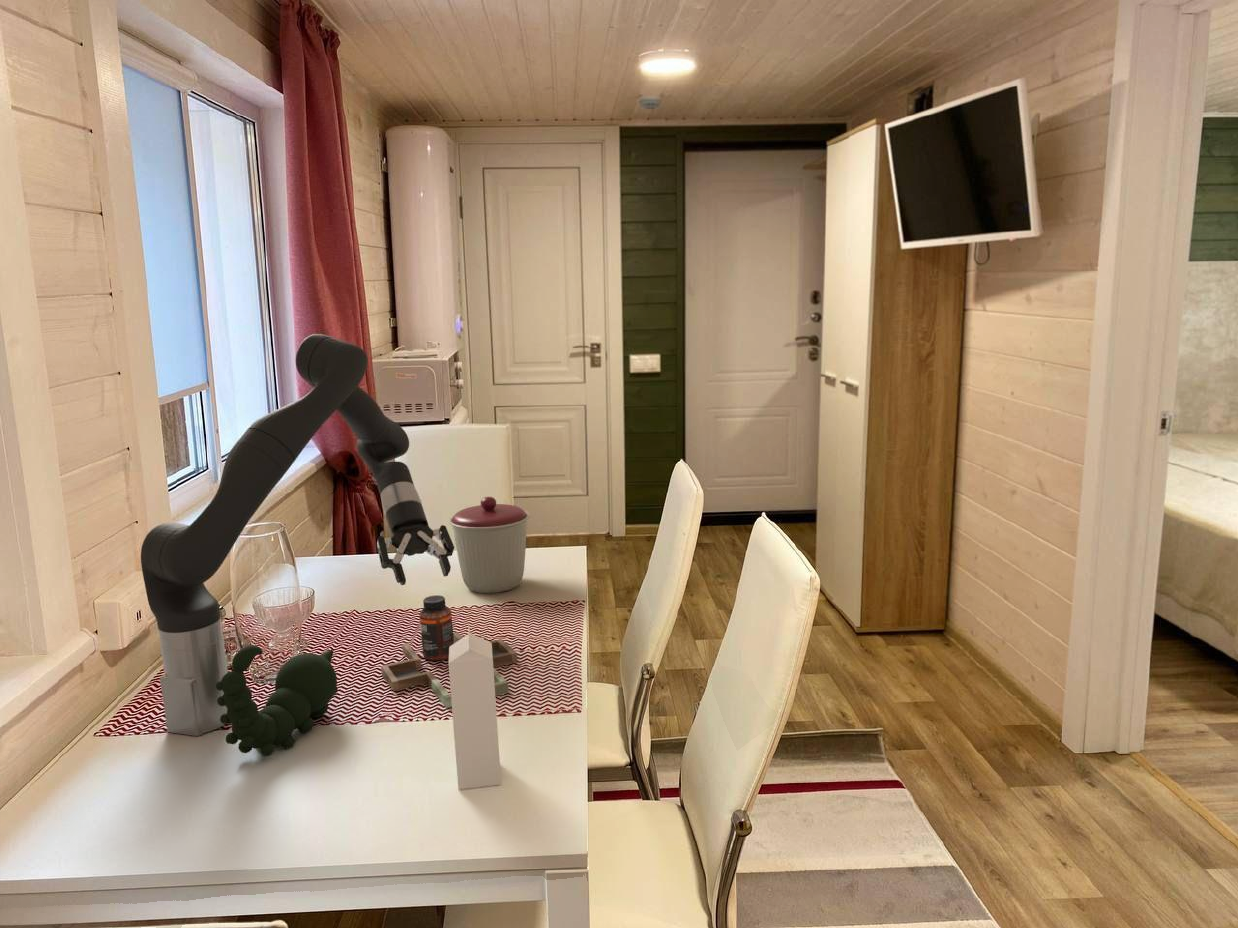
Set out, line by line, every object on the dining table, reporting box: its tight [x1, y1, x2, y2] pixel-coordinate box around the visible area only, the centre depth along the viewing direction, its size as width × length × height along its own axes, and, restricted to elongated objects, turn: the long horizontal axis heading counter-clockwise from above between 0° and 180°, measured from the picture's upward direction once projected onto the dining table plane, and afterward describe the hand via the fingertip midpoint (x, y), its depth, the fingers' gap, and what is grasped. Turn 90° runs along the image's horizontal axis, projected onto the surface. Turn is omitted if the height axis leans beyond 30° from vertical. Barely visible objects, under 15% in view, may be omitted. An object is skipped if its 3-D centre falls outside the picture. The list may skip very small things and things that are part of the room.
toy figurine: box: [216, 644, 339, 757], centre depth 146 cm, size 9×19×25 cm
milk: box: [448, 625, 502, 791], centre depth 131 cm, size 6×6×22 cm
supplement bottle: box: [419, 595, 454, 662], centre depth 175 cm, size 6×6×11 cm
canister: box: [448, 496, 531, 594], centre depth 212 cm, size 18×18×21 cm
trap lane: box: [380, 631, 518, 709], centre depth 169 cm, size 27×23×2 cm
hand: (425, 578), depth 181 cm, fingers open, 8 cm apart
